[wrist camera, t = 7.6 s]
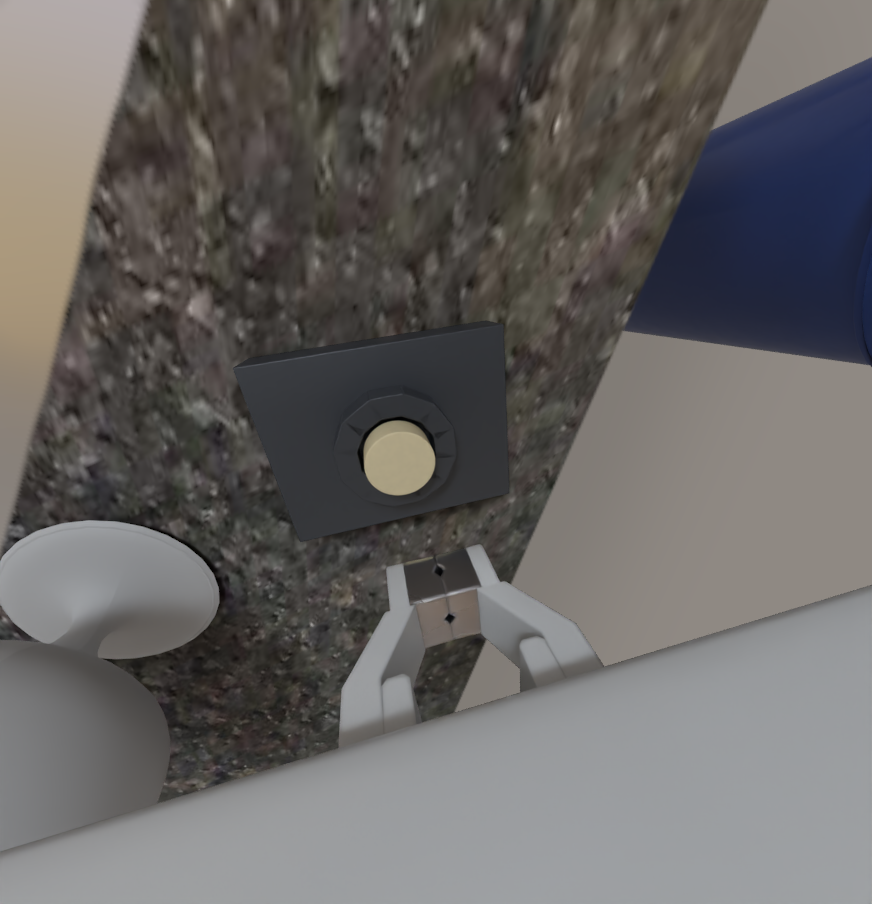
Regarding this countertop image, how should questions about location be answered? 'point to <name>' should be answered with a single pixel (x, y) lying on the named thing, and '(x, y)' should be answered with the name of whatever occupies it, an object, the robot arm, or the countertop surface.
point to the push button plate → (381, 422)
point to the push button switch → (398, 458)
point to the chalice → (89, 671)
